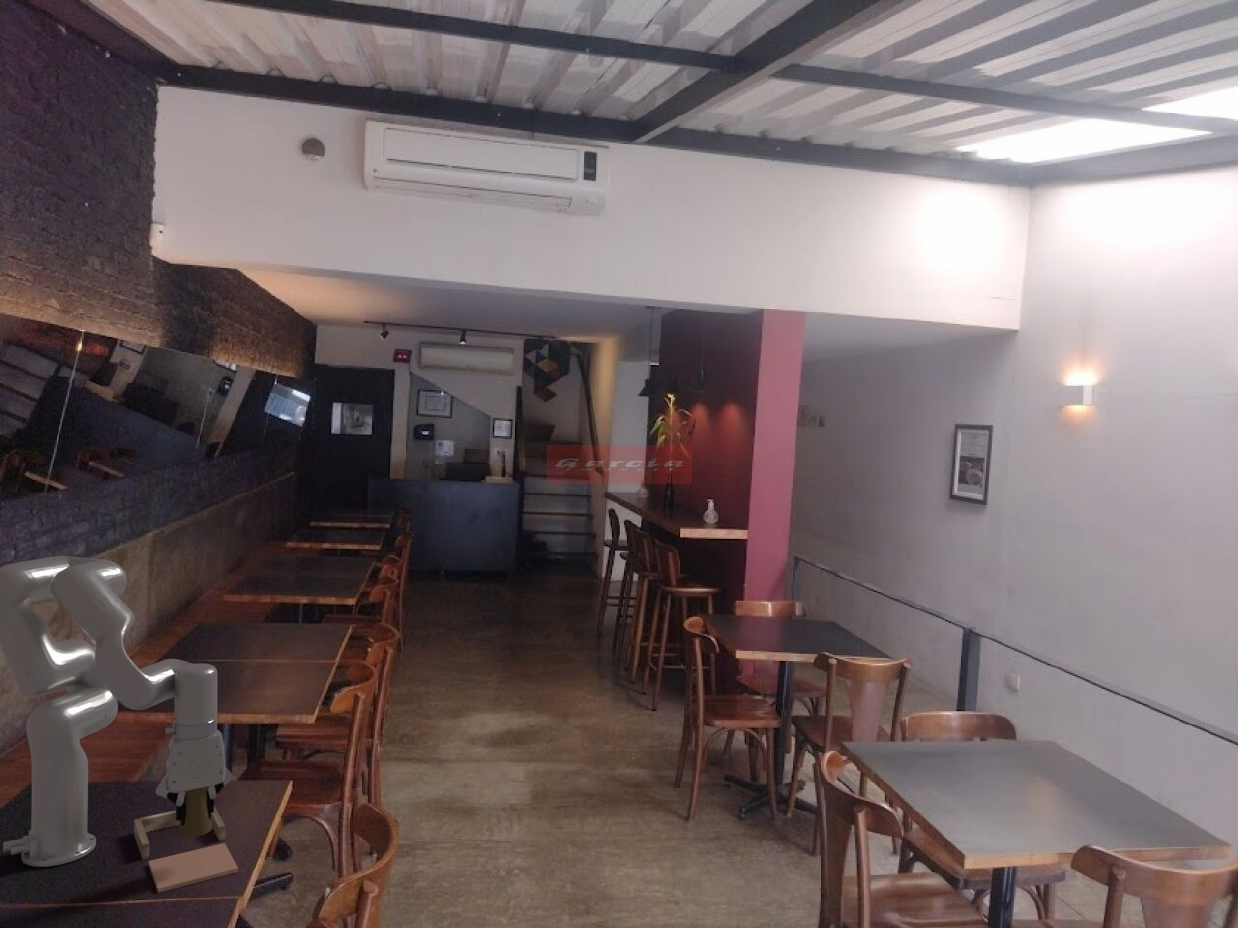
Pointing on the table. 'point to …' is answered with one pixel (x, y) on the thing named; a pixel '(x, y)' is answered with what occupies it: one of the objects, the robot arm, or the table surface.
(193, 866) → the tile
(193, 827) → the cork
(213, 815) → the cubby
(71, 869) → the table surface
